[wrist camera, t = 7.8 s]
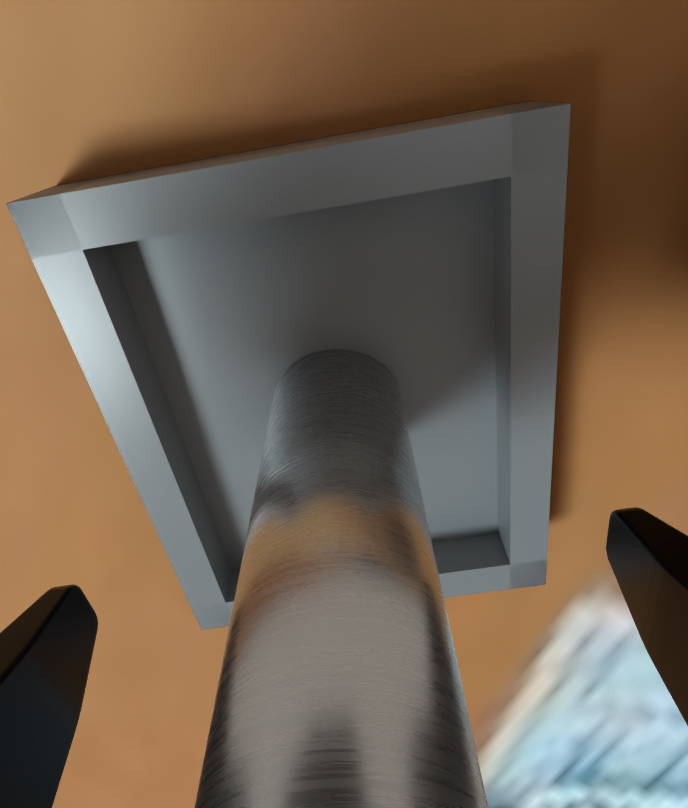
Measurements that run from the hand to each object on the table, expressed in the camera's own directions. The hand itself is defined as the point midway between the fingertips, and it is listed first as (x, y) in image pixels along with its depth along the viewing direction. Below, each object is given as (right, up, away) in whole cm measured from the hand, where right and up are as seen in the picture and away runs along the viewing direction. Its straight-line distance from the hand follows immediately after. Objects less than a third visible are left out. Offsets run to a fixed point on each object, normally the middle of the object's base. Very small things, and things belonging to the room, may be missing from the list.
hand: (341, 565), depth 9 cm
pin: (0, +3, +4) cm, 5 cm away
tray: (0, +3, +5) cm, 6 cm away
